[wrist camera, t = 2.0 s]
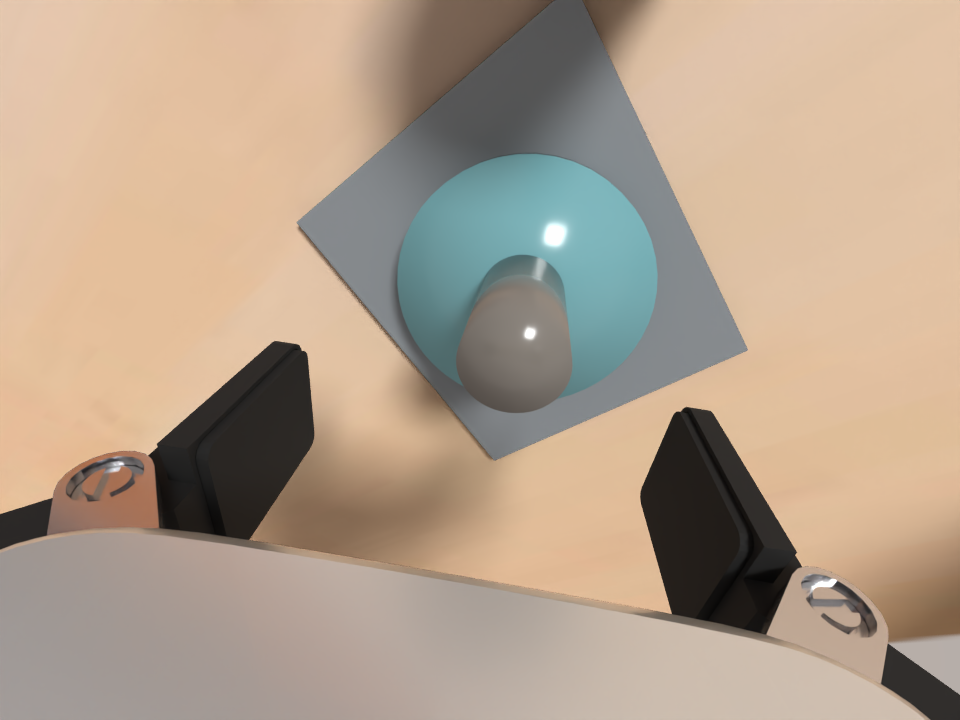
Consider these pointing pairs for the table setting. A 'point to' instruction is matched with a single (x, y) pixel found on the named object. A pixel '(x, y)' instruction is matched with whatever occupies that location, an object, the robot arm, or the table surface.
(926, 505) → the table surface
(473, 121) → the mat
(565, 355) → the lid
